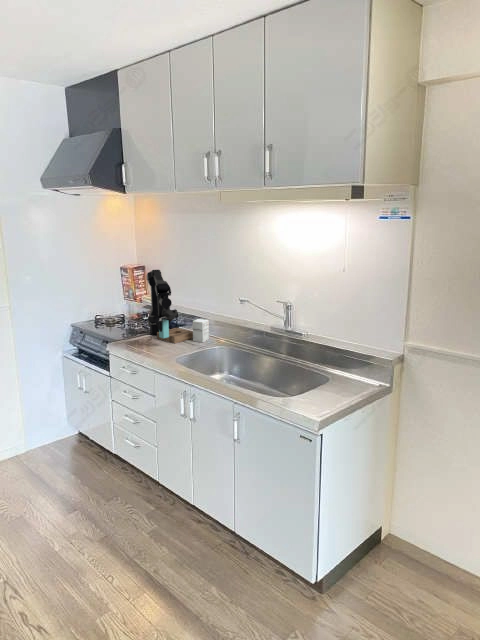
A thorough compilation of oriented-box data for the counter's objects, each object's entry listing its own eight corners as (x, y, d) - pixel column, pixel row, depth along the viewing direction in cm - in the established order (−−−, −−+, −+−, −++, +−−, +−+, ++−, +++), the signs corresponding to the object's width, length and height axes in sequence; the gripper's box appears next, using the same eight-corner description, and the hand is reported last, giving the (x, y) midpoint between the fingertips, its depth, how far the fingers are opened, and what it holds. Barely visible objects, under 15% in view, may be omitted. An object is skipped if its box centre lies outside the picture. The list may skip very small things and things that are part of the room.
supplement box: (192, 341, 289) (192, 320, 286) (199, 338, 296) (198, 318, 293) (202, 342, 286) (202, 322, 283) (209, 339, 292) (209, 319, 289)
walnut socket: (157, 338, 294) (157, 332, 294) (176, 333, 306) (176, 327, 305) (174, 343, 284) (174, 337, 283) (194, 338, 296) (194, 331, 295)
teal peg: (159, 337, 278) (158, 320, 276) (164, 335, 281) (163, 319, 279) (163, 338, 276) (163, 321, 273) (169, 337, 279) (168, 320, 276)
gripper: (159, 309, 262) (160, 336, 266) (184, 304, 276) (185, 330, 279) (146, 306, 269) (147, 333, 273) (171, 301, 283) (172, 327, 286)
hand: (163, 331), depth 278 cm, fingers closed on teal peg, 4 cm apart
